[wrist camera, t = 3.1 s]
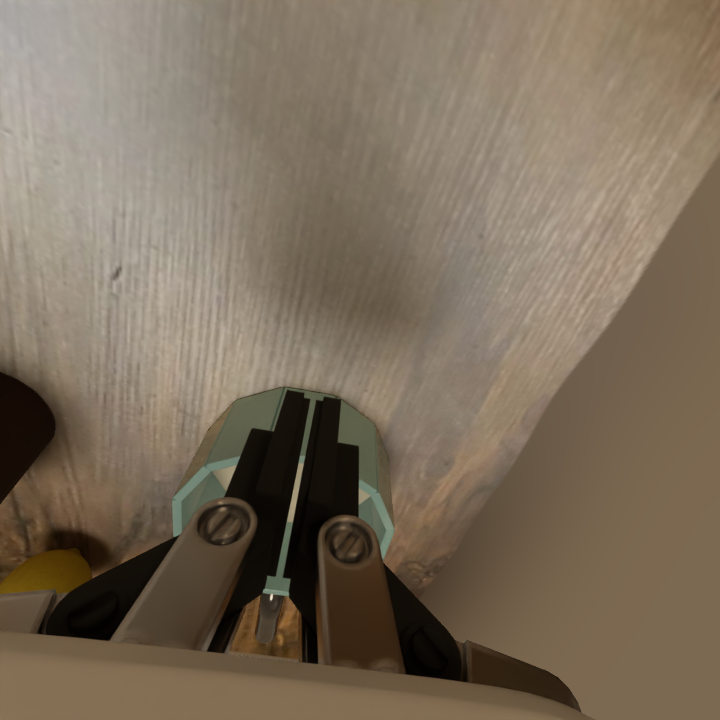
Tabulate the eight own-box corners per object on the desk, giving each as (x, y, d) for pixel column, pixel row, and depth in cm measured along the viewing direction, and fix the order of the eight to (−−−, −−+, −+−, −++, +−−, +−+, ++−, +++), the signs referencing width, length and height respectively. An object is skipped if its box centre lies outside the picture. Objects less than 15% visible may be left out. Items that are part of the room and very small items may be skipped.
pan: (209, 373, 23) (169, 435, 18) (406, 407, 24) (417, 474, 19) (203, 575, 33) (176, 649, 28) (343, 592, 34) (341, 666, 29)
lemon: (22, 537, 30) (-79, 656, 23) (77, 518, 29) (-11, 637, 22) (74, 576, 33) (-3, 693, 26) (127, 560, 32) (61, 678, 25)
